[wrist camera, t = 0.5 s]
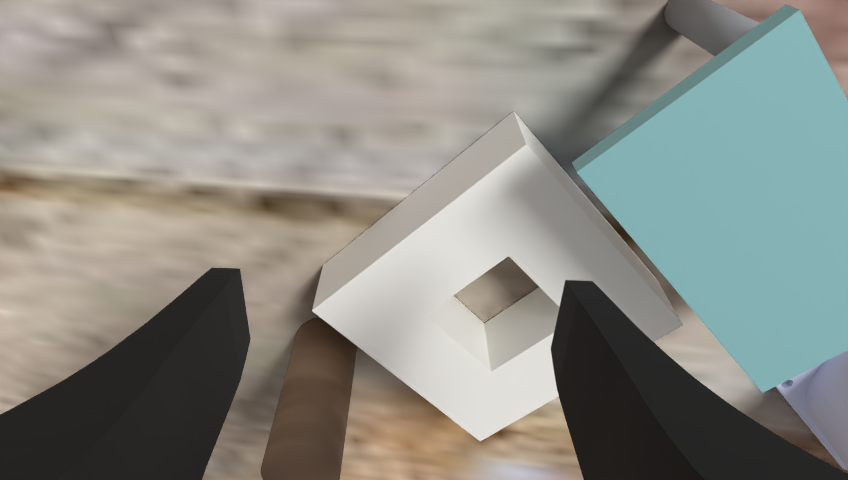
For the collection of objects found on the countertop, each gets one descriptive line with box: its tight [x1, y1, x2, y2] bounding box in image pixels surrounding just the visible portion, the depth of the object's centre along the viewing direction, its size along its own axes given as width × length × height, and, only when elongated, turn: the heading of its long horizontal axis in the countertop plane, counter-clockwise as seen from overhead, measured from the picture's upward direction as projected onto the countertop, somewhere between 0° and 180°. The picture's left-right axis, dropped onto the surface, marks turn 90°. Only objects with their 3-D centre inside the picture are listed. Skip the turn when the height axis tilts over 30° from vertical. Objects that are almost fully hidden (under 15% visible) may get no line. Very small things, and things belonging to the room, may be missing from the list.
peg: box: [261, 318, 357, 480], centre depth 24 cm, size 3×3×7 cm
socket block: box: [312, 111, 683, 441], centre depth 24 cm, size 10×10×3 cm
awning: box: [572, 0, 848, 393], centre depth 19 cm, size 11×6×6 cm, turn 42°
